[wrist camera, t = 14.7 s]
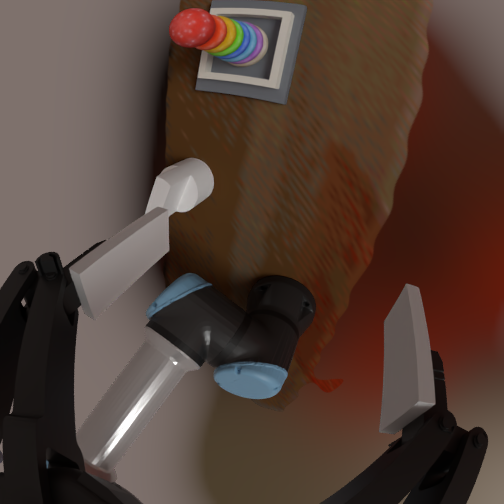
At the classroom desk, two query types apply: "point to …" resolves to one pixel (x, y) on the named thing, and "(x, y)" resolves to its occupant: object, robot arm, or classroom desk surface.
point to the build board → (274, 61)
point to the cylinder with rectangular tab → (181, 186)
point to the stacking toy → (219, 36)
